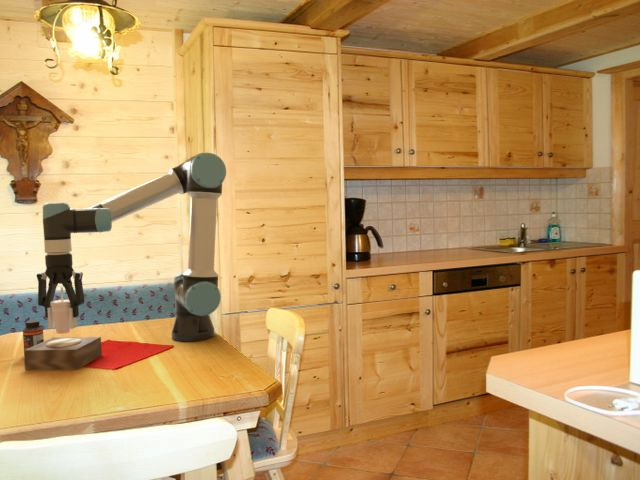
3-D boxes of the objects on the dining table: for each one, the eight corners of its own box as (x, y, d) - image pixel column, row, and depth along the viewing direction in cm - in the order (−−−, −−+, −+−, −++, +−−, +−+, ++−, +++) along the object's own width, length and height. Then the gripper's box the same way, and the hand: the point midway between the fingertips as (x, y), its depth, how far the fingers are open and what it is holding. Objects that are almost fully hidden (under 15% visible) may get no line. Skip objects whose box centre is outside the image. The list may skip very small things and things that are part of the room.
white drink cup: (58, 335, 172) (55, 289, 171) (47, 333, 175) (45, 287, 175) (78, 331, 177) (76, 286, 176) (67, 329, 181) (65, 285, 180)
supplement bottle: (20, 356, 185) (17, 322, 184) (36, 352, 190) (34, 318, 190) (32, 358, 182) (29, 323, 182) (48, 354, 188) (46, 320, 187)
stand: (101, 355, 184) (100, 335, 184) (77, 369, 168) (75, 348, 168) (54, 355, 185) (52, 336, 185) (25, 370, 169) (23, 349, 169)
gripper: (94, 251, 177) (98, 325, 179) (35, 252, 179) (39, 325, 180) (82, 253, 170) (87, 330, 172) (21, 255, 171) (26, 331, 173)
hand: (62, 327), depth 176 cm, fingers closed on white drink cup, 6 cm apart
